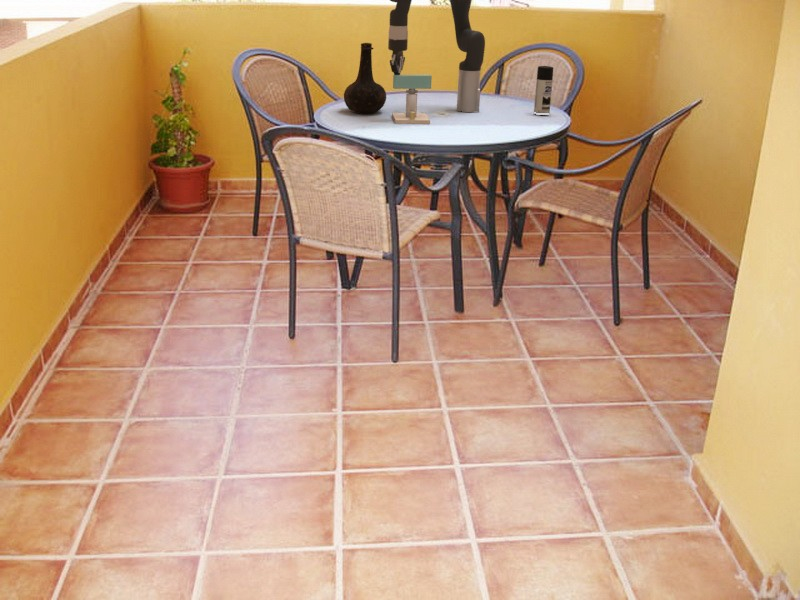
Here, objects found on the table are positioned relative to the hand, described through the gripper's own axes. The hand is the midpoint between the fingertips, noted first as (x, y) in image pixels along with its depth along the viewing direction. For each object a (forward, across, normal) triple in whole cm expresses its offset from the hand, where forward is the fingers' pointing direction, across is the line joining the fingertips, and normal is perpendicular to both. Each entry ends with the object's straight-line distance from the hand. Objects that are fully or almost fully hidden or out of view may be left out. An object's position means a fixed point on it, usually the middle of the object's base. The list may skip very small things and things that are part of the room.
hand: (396, 82), depth 338 cm
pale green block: (+4, 0, +6) cm, 7 cm away
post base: (+14, 0, +6) cm, 16 cm away
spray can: (+15, -37, +54) cm, 67 cm away
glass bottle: (+15, -8, -16) cm, 23 cm away
